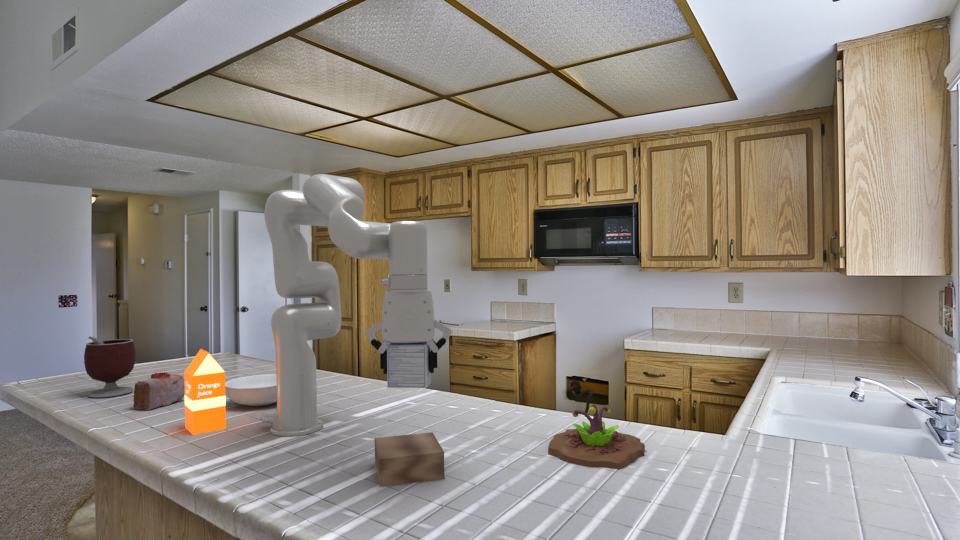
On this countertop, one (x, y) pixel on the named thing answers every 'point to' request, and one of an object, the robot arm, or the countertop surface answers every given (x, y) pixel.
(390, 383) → the medicine box
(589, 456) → the plant
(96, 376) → the mate gourd
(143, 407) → the food item
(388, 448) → the walnut block
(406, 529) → the countertop surface
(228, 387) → the serving bowl
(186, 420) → the orange juice
